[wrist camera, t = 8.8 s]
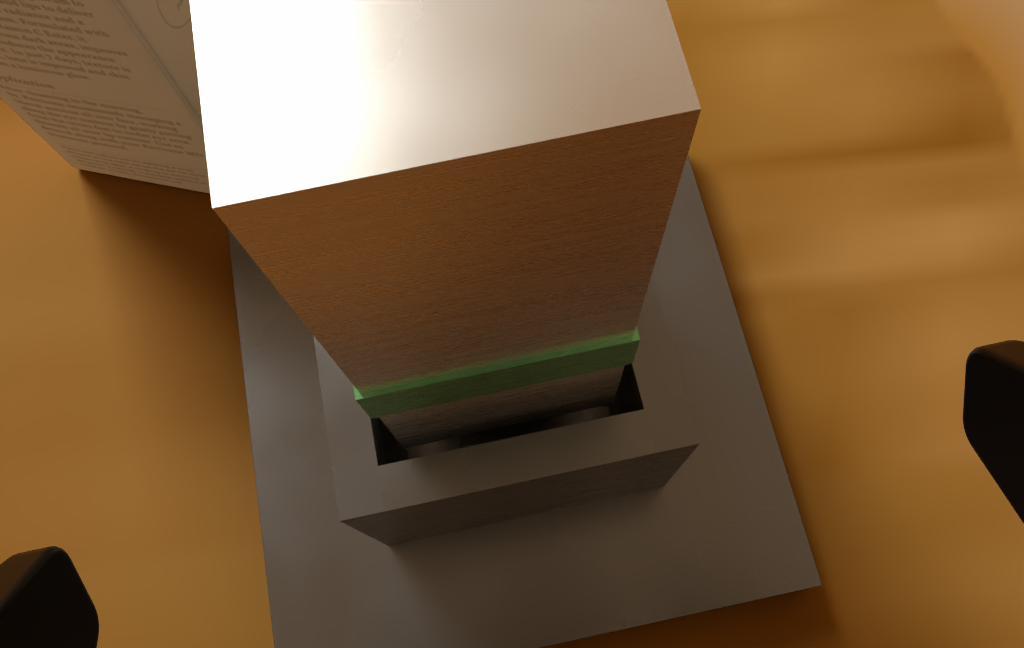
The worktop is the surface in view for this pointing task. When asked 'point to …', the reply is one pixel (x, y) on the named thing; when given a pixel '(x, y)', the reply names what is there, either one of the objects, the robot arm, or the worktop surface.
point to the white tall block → (451, 189)
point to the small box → (108, 85)
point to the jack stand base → (524, 485)
